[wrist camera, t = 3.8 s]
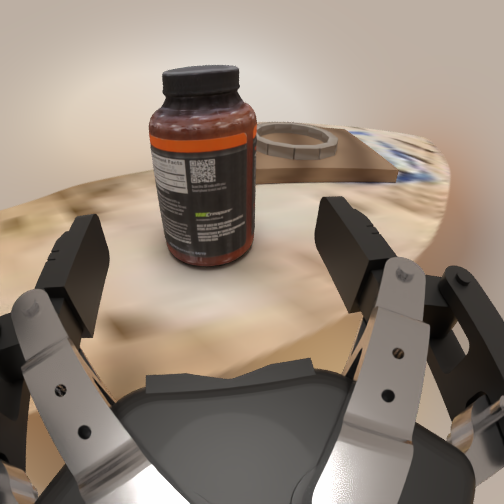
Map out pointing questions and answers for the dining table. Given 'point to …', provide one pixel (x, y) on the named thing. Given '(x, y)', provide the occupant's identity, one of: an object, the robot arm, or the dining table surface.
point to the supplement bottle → (205, 164)
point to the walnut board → (316, 156)
